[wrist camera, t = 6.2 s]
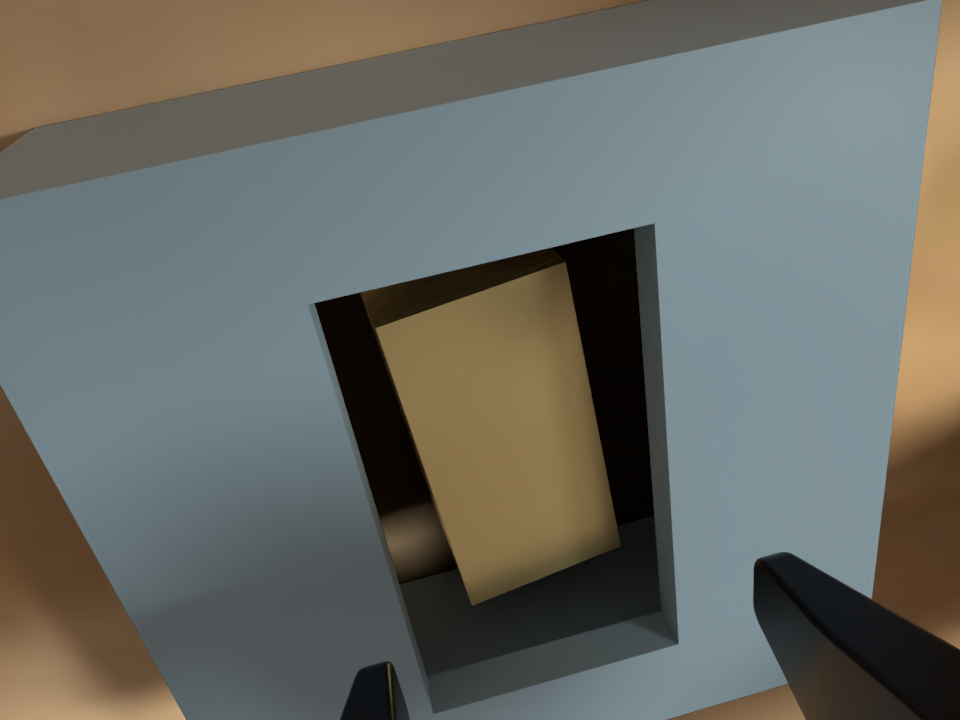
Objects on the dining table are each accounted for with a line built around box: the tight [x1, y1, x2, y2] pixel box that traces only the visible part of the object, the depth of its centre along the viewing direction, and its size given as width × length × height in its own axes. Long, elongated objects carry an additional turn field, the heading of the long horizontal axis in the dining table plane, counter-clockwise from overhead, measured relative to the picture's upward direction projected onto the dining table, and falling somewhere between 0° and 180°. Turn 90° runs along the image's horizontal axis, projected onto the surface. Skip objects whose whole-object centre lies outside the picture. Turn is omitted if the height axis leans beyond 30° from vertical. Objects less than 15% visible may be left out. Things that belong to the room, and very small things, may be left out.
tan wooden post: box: [360, 248, 621, 606], centre depth 14 cm, size 3×6×2 cm, turn 13°
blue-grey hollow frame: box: [0, 0, 942, 720], centre depth 14 cm, size 12×12×4 cm
